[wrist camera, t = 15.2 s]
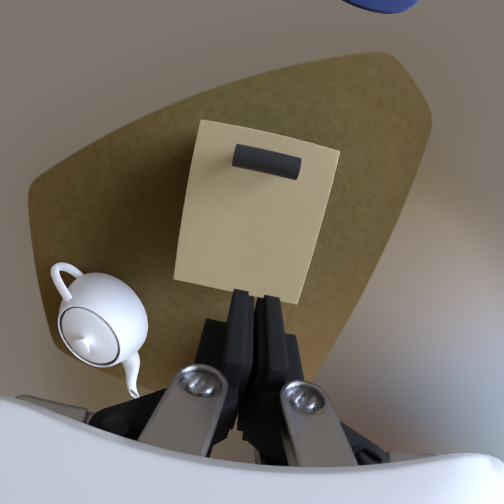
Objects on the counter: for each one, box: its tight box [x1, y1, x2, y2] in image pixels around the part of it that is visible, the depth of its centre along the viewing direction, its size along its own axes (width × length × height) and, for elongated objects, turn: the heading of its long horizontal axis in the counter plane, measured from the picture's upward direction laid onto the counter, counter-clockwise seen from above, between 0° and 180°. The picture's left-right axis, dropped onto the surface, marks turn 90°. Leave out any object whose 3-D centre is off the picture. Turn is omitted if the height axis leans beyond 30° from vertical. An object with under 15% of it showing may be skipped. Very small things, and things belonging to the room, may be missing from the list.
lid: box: [173, 120, 340, 304], centre depth 25 cm, size 15×13×5 cm
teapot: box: [50, 262, 148, 399], centre depth 36 cm, size 22×14×11 cm, turn 25°
